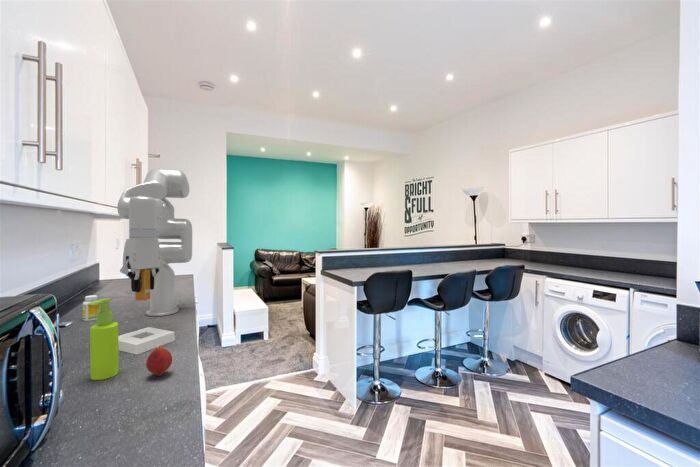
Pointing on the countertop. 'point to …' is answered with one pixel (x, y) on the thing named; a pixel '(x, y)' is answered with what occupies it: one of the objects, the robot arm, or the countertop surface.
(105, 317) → the soap dispenser
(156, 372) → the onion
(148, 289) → the supplement box
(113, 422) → the countertop surface
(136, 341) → the socket block
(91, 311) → the supplement bottle
